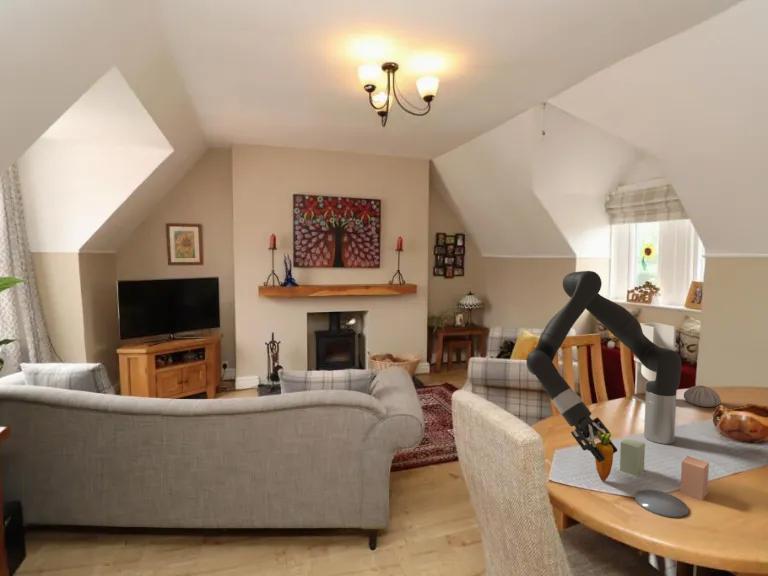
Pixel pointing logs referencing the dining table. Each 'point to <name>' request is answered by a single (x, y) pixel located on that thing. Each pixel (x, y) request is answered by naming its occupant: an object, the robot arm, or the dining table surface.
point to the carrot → (607, 452)
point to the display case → (660, 337)
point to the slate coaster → (661, 503)
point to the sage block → (632, 457)
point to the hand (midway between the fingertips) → (608, 456)
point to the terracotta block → (694, 477)
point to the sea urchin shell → (702, 396)
